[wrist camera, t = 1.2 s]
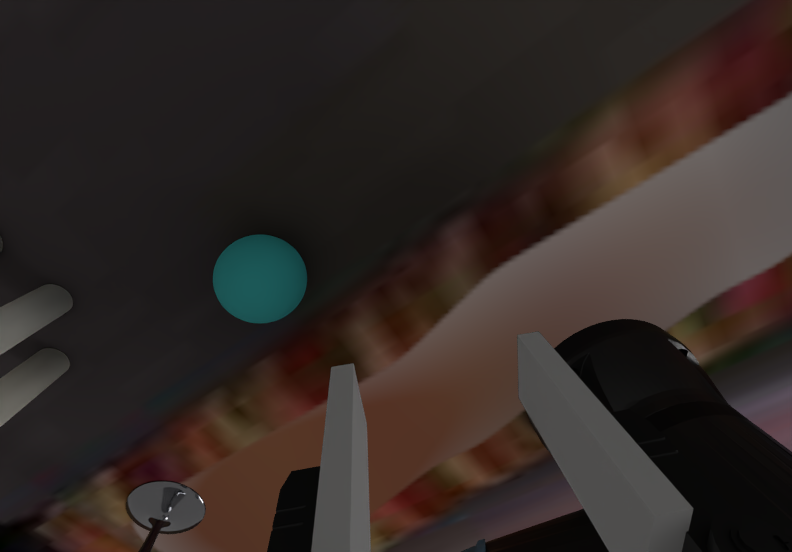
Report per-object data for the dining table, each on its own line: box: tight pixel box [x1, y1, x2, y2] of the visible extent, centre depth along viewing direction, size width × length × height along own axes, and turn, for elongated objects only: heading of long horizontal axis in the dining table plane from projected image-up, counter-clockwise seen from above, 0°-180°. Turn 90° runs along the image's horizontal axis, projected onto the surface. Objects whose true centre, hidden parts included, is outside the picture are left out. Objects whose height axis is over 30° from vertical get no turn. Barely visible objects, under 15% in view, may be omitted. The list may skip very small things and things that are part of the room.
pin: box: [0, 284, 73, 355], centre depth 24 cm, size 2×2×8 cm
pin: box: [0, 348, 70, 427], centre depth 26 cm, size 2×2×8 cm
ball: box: [213, 234, 307, 323], centre depth 26 cm, size 6×6×6 cm
